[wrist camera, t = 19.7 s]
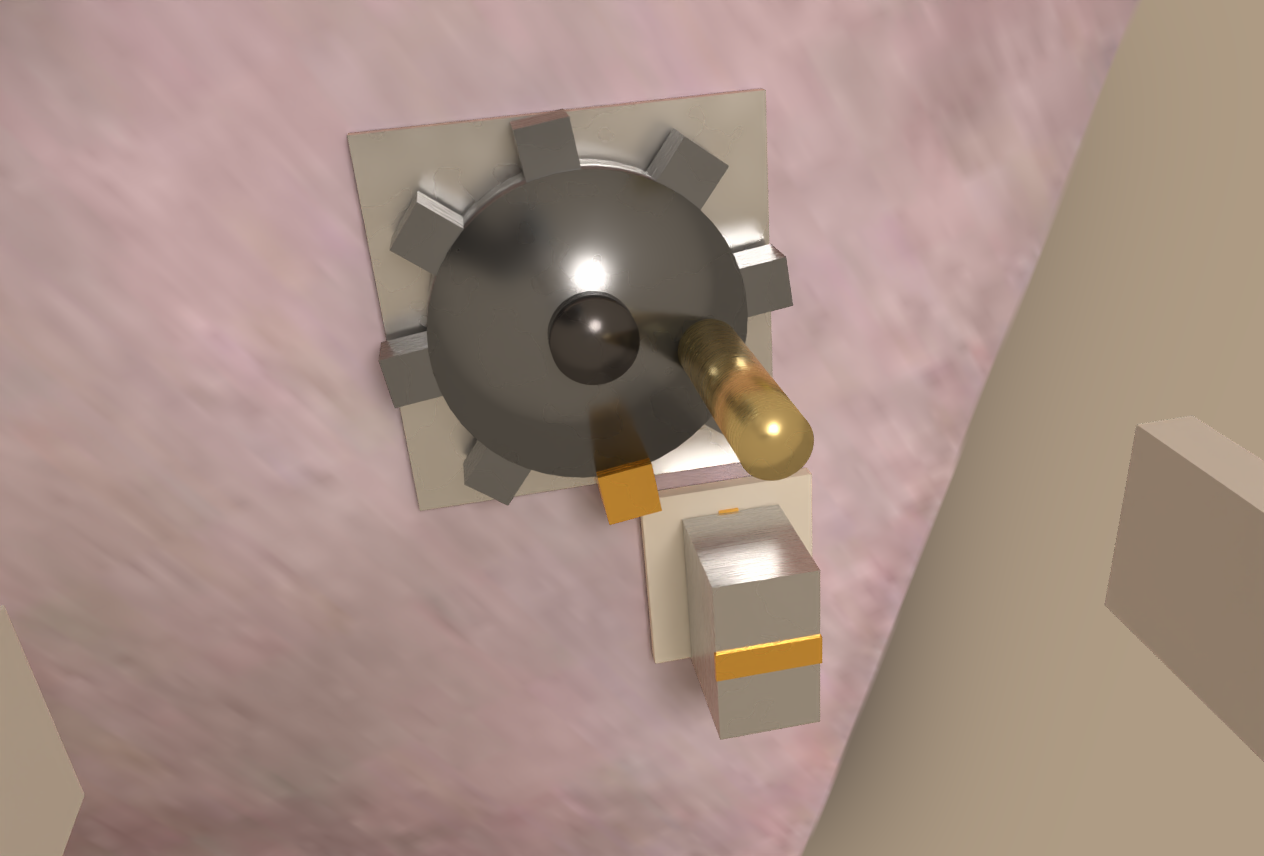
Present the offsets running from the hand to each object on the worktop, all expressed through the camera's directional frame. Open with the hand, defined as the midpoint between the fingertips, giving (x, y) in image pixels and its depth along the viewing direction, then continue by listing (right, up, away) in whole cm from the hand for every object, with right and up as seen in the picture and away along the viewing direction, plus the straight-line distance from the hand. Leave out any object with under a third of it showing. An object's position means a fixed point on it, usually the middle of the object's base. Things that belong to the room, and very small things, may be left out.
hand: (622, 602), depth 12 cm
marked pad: (+4, -4, +31) cm, 32 cm away
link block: (+4, -4, +31) cm, 31 cm away
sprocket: (-2, +6, +25) cm, 26 cm away
